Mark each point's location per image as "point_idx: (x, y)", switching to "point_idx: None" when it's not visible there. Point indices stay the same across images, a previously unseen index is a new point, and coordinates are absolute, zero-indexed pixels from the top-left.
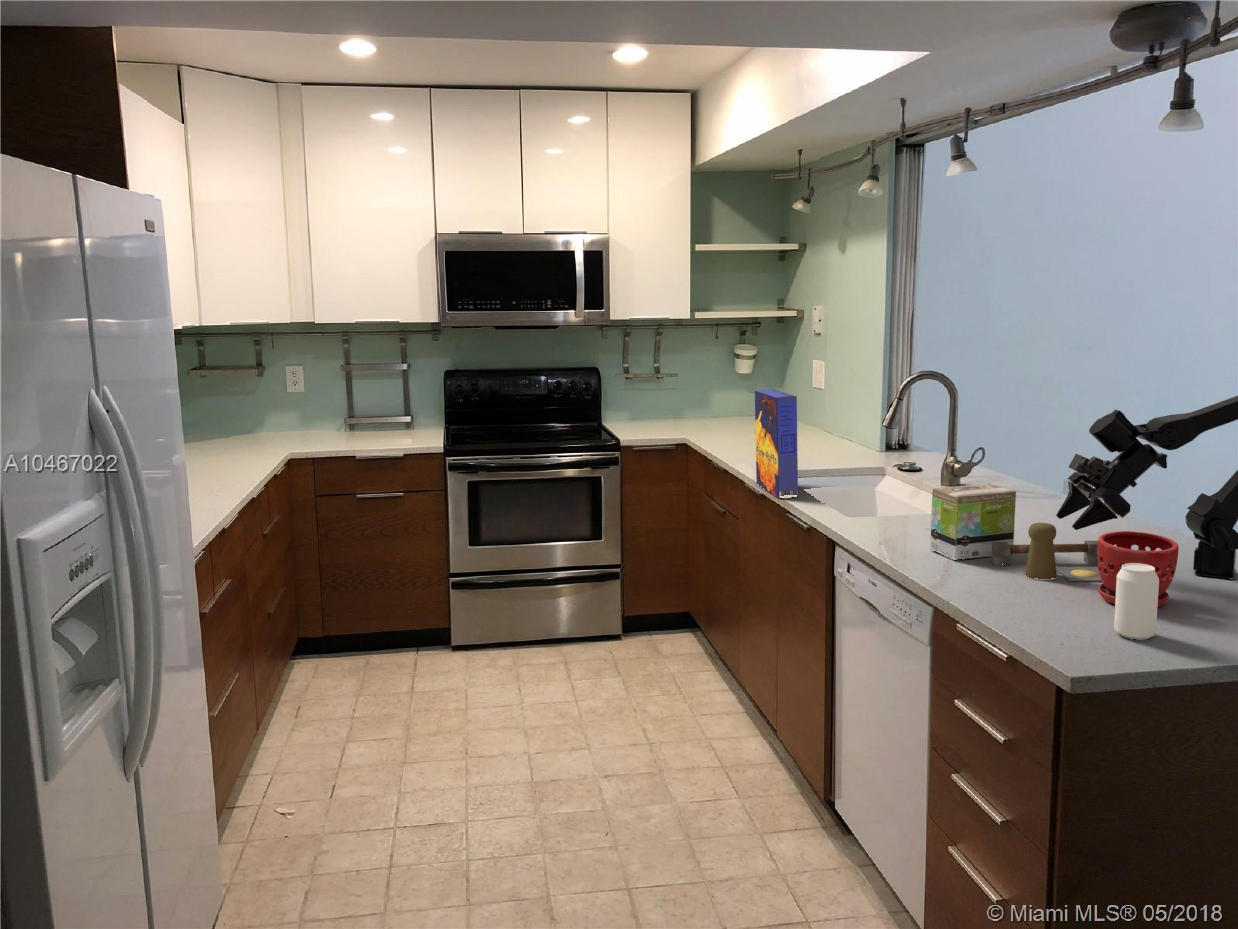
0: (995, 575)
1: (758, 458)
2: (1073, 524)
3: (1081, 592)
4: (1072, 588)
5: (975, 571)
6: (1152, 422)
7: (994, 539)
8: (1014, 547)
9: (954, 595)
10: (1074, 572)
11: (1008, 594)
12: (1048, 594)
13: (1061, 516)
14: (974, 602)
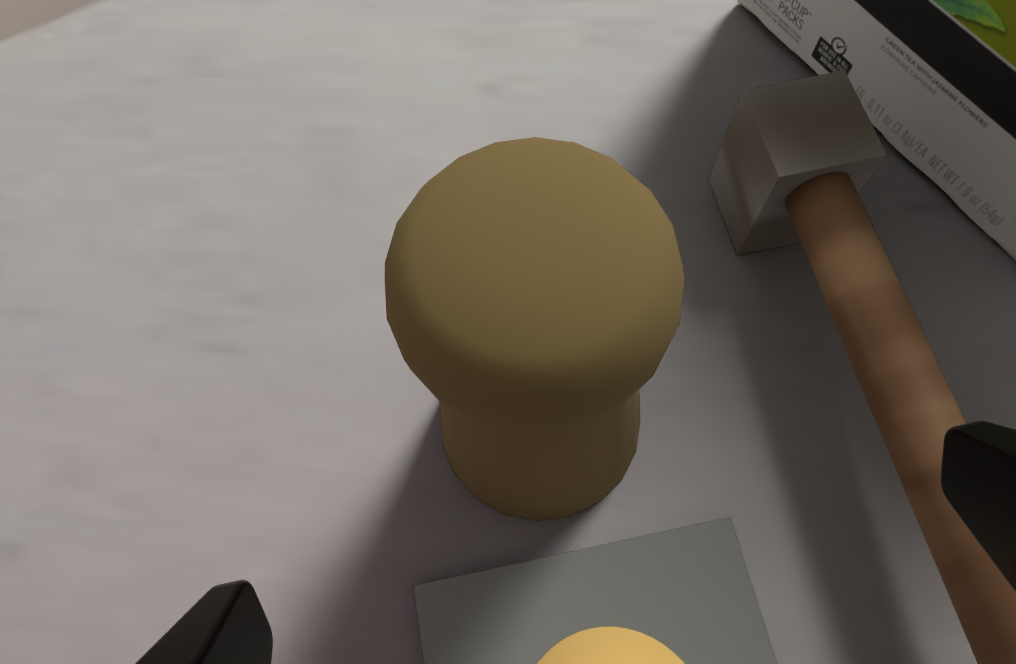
0: None
1: None
2: (215, 598)
3: None
4: (275, 592)
5: (564, 90)
6: None
7: (983, 95)
8: (812, 216)
9: (147, 17)
10: (620, 657)
11: (156, 226)
12: (150, 427)
13: (970, 504)
14: (39, 88)
